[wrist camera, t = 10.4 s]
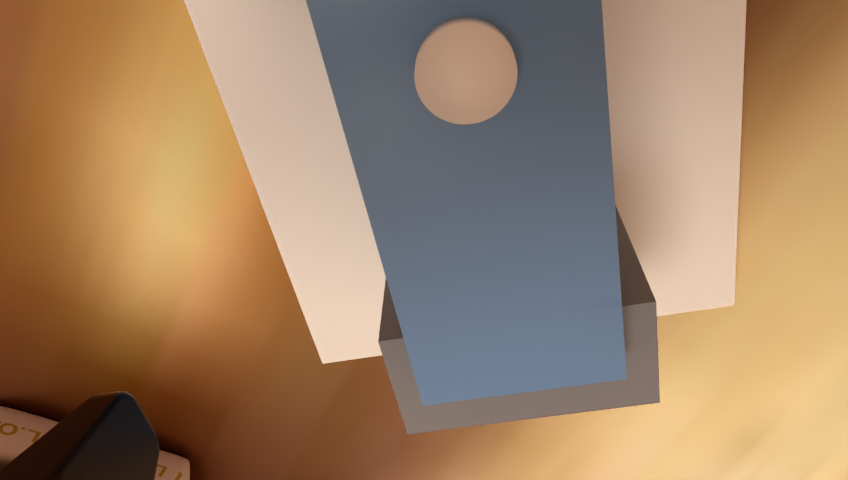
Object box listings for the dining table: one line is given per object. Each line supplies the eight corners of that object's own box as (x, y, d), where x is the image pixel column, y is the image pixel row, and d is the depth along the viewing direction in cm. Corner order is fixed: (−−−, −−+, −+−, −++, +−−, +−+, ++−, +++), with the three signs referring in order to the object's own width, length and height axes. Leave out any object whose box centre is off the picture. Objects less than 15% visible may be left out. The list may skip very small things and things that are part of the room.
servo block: (428, 253, 20) (422, 419, 15) (323, -177, 14) (252, -162, 9) (579, 229, 20) (631, 393, 14) (533, -228, 14) (590, -244, 9)
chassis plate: (326, 343, 24) (293, 499, 18) (81, -320, 14) (-132, -390, 9) (722, 285, 22) (810, 439, 17) (746, -511, 12) (966, -735, 7)
